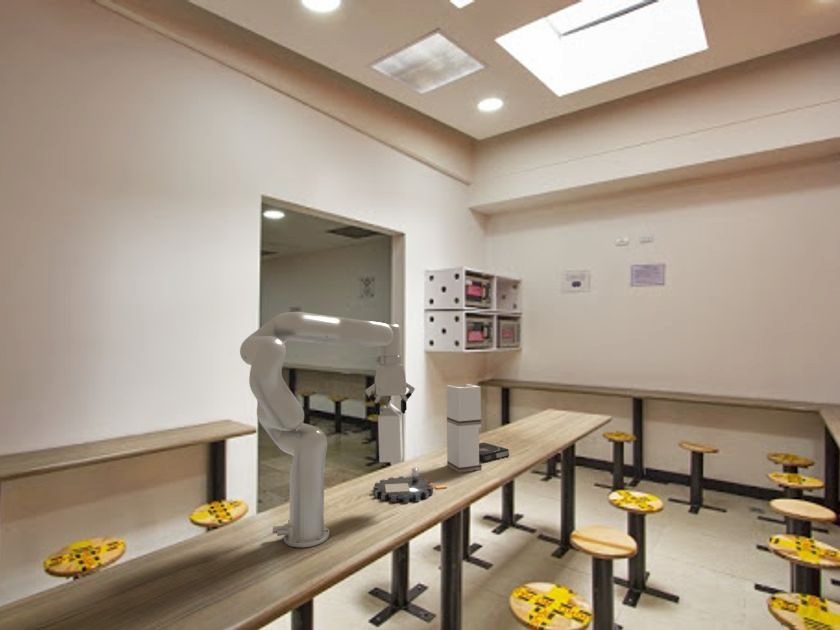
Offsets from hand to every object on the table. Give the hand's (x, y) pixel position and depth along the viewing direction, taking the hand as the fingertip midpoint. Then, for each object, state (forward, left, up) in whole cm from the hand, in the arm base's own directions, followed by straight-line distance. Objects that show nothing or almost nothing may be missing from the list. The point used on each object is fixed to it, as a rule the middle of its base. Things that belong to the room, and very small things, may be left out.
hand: (390, 413), depth 151 cm
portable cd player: (+57, +49, -32) cm, 82 cm away
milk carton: (0, 0, -15) cm, 15 cm away
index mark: (+23, +14, -31) cm, 41 cm away
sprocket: (+8, +14, -31) cm, 35 cm away
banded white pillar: (+41, +35, -31) cm, 62 cm away
